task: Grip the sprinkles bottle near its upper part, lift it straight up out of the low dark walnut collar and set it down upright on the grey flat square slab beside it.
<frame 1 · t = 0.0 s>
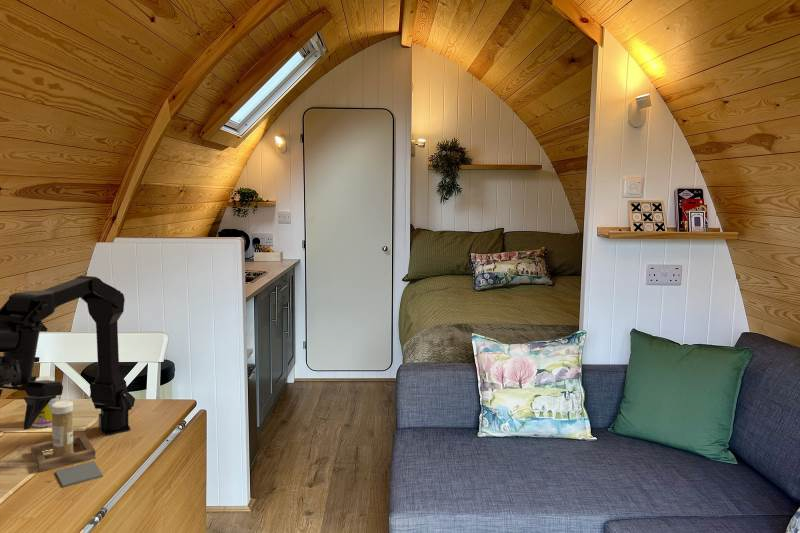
hand: (6, 426, 114), 15 cm above the table, tool pointing down, fingers open, 9 cm apart
sprinkles bottle: (63, 456, 134), resting in walnut collar stand
supplement bottle: (45, 424, 151), on the table
walnut collar stand: (63, 455, 134), on the table
grey flat square slab: (79, 474, 126), on the table
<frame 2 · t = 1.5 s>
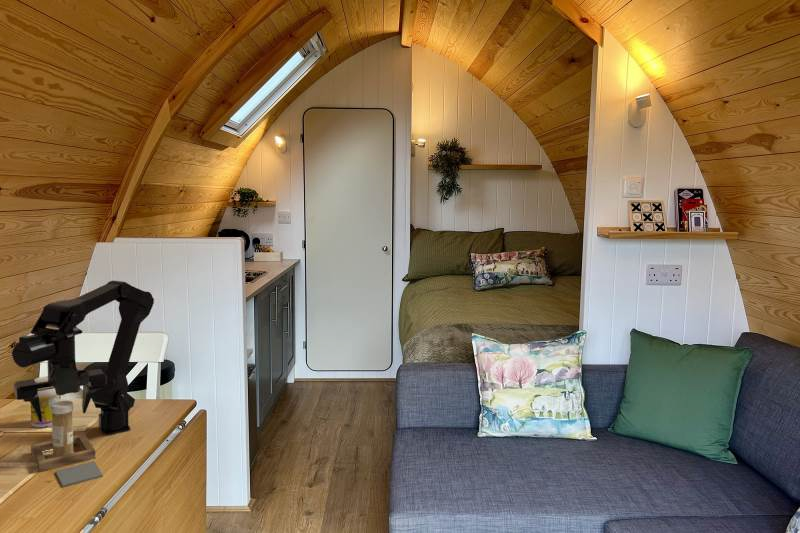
hand: (62, 417, 133), 10 cm above the table, tool pointing down, fingers open, 9 cm apart
nothing on the table moved.
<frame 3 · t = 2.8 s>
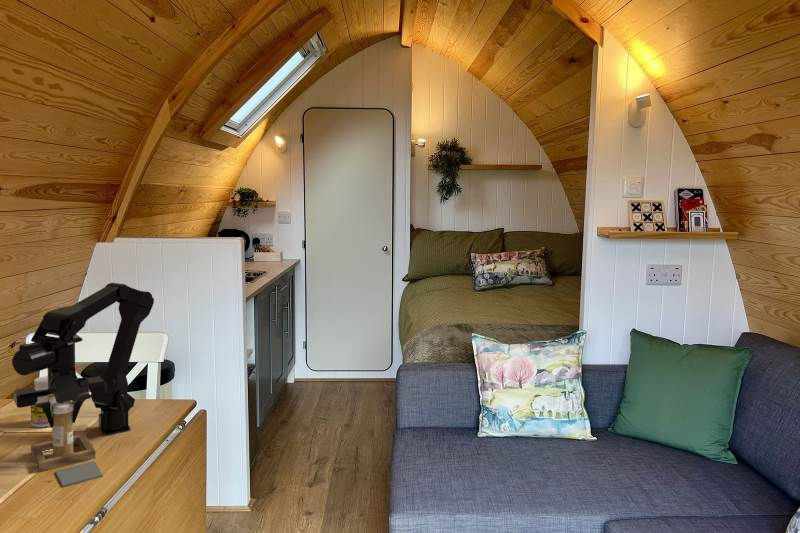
hand: (62, 424, 133), 8 cm above the table, tool pointing down, fingers closed on sprinkles bottle, 4 cm apart
sprinkles bottle: (63, 456, 134), resting in walnut collar stand, touching gripper
everything else where it was.
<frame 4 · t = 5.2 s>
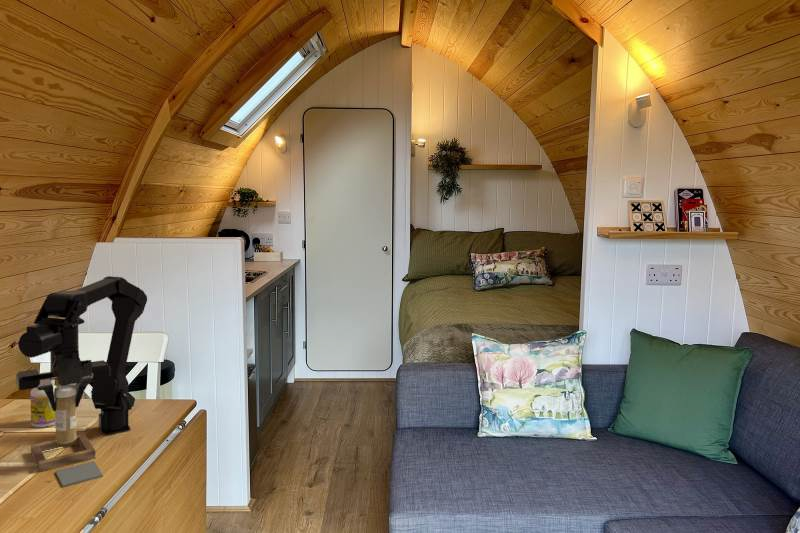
hand: (65, 408, 131), 13 cm above the table, tool pointing down, fingers closed on sprinkles bottle, 4 cm apart
sprinkles bottle: (66, 441, 132), point 5 cm above the table, touching gripper
everything else where it was.
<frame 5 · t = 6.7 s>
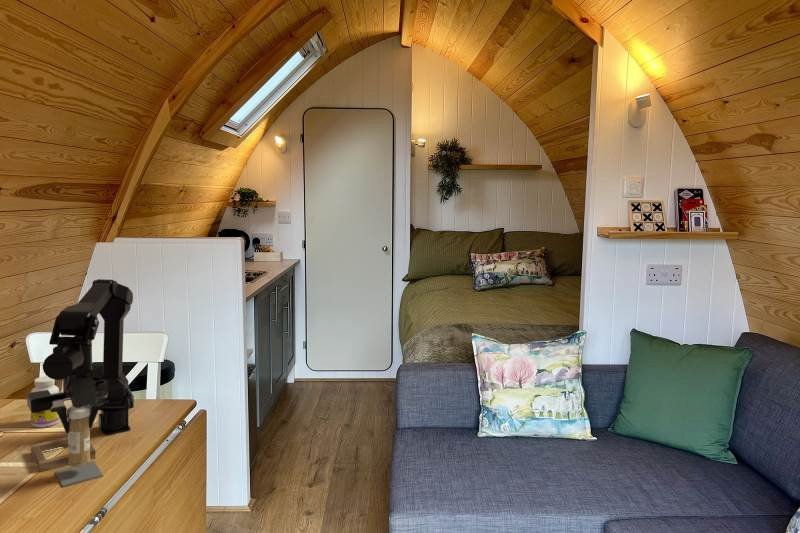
hand: (78, 430, 125), 11 cm above the table, tool pointing down, fingers closed on sprinkles bottle, 4 cm apart
sprinkles bottle: (79, 463, 126), point 3 cm above the table, touching gripper
everything else where it was.
when the fingers open (10 cm above the table, at t = 7.7 s): sprinkles bottle drops 1 cm, resting on grey flat square slab.
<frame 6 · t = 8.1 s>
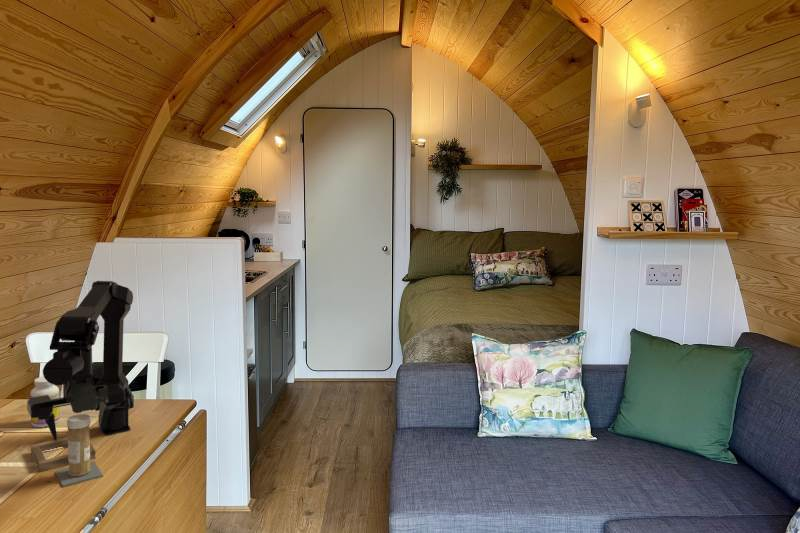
hand: (78, 435, 125), 10 cm above the table, tool pointing down, fingers open, 9 cm apart
sprinkles bottle: (79, 473, 126), resting on grey flat square slab
everything else where it was.
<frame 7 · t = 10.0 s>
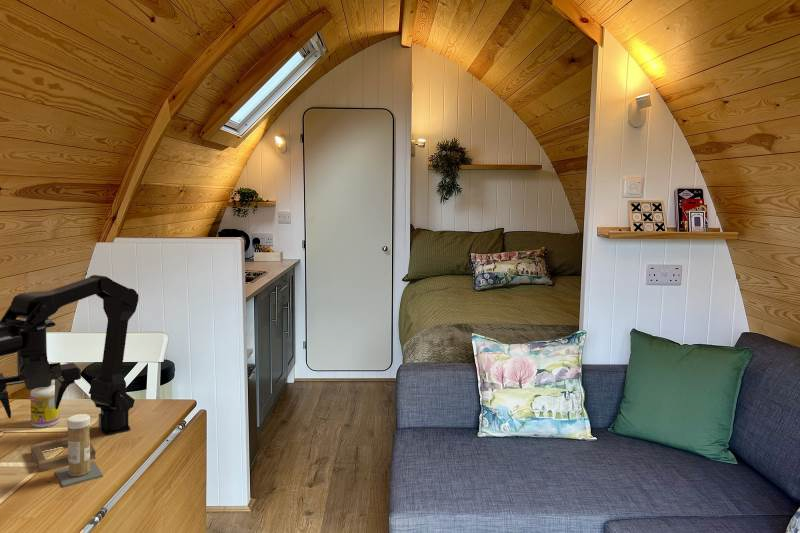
hand: (33, 413, 127), 13 cm above the table, tool pointing down, fingers open, 9 cm apart
nothing on the table moved.
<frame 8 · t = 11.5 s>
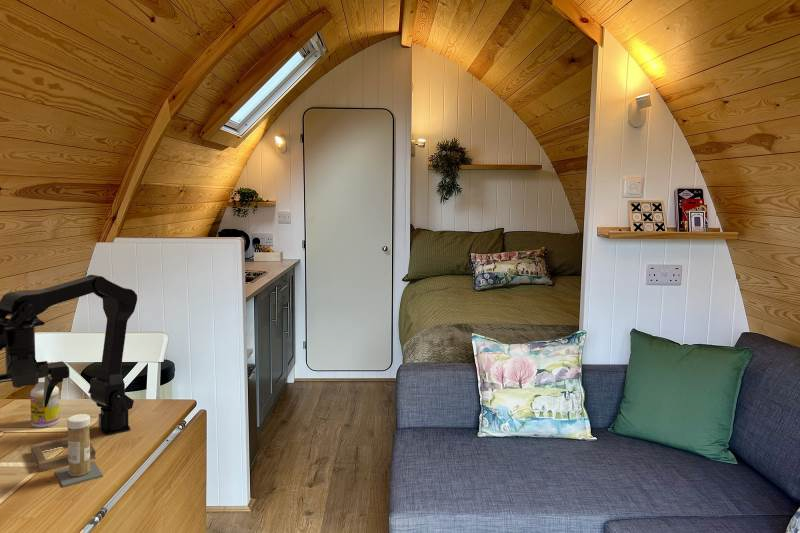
hand: (22, 410, 128), 13 cm above the table, tool pointing down, fingers open, 9 cm apart
nothing on the table moved.
at the end: sprinkles bottle inside the target area on the grey flat square slab (0.1 cm from its centre), point 0.2 cm above the grey flat square slab's base; sprinkles bottle tilted 0°; the gripper is holding nothing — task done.
